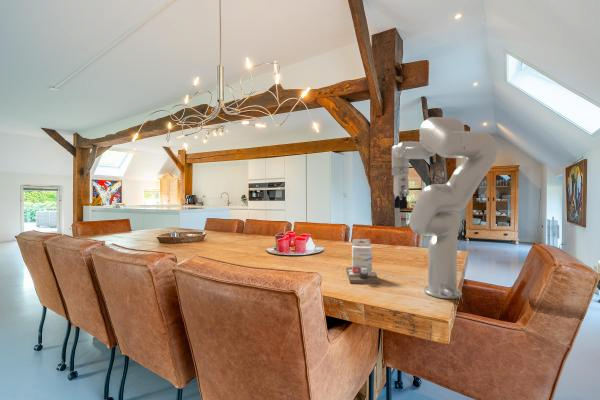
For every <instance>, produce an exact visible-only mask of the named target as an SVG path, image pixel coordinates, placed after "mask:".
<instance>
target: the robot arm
mask: <svg viewBox="0 0 600 400" xmlns="http://www.w3.org/2000/svg"><path fill="white" fill-rule="evenodd" d="M418 133H419V141H401V142H399V143H398V144H395V145H393V146H392V147H391V176H393V195H394V196H393V197H394V198H393V199H394V203H393V204H394V205H393V208H395V209H399V210H407V209H408V196H409V195H410V187H409V186H410V185H409V184H410V183H409V175H410V167H409V164H410V162H409V161H410V160H425V159H427V158H430V157H433V156H435V155H436V154H437V155H438V156H439V157H442V158H447V159H466V160H465V161H464V162H462V163H461V164H460V165H459V166H457V167H456V169H454V171H453V172H452V175H451V177H450V178H449V180H448V181H447V182H446V183H437V184H436V183H435V184H433V183H432V184H430V185H429V184H428V185H427V186H425V187H424V188H423V189H422V190H421V191H420V193H419V195H418V196H417V197H418V198H417V200H416V202H415V204H414V207H413V209H412V210H411V213H410V216H409V220H408V221H409V228H410V229H411V231H412V232H413V233H414V234H417V235H421V236H422V235H423V236H424V235H426V236H427V235H432V236H431V238H430V239H429V241H428V246H427V247H428V248H427V249H428V252H427V253H428V255H427V256H428V262H427V263H428V266H427V267H428V276H427V277H428V285H426V286H424V287H423V292H424V293H425V294H427V295H428V296H431V297H433V298H434V297H435V298H439V299H445V300H447V299H448V300H449V299H450V300H453V299H459V298H461V297H462V296H463V292H462V291H461V290H460V289H459V288H458V235H459V232H460V231H459V230H460V225H461V218H460V215H459V213H458V212H459V211H460V212H461V211H462V210H464V209H465V208H466V207H467V206H468V204H469V202H470V201H471V199H472V197H473V195H474V194H475V192H476V190H477V189H478V187H479V185H480V183H481V182H482V180H483V179H484V177H485V176H486V175H487V174H488V172H489V171H490V170H491V169H492V167H493V166H494V163H495V162H496V159H497V155H498V144H497V141H496V140H495V138H494V137H493V136H492V135H491V134H489V133H487V132H483V131H476V130H475V131H471V130H470V131H469V130H465V125H464V123H463V122H462V121H461V120H459V118H455V117H444V116H443V117H442V116H440V117H439V116H438V117H436V116H431V117H428V118H426V119H425V120H423V121H422V123H421V124H420V127H419V132H418Z"/></svg>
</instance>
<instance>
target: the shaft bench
mask: <svg viewBox="0 0 600 400" xmlns="http://www.w3.org/2000/svg"><path fill="white" fill-rule="evenodd" d="M360 270H361V272H360V273H353V272H352V266H351V267H350V266H349V267H346V270H345V271H346V273H347V276H348V277H347V278H348V281H349V283H350V284H357V285H358V284H361V285H362V284H366V285H372V284H373V285H379V284H380V279H379V278H378V275H377V274H376V273H375V271H374V270H373V268H372V274H368V273H367V268H366V267H365V266H360Z"/></svg>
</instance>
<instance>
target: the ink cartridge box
mask: <svg viewBox="0 0 600 400" xmlns="http://www.w3.org/2000/svg"><path fill="white" fill-rule="evenodd" d="M360 266H365V267H366V268H367V273H368V274H372V269H373V247H372V246H371V239H370V238H353V239H352V245H351V267H352V272H353V273H360V272H361V270H360Z"/></svg>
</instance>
